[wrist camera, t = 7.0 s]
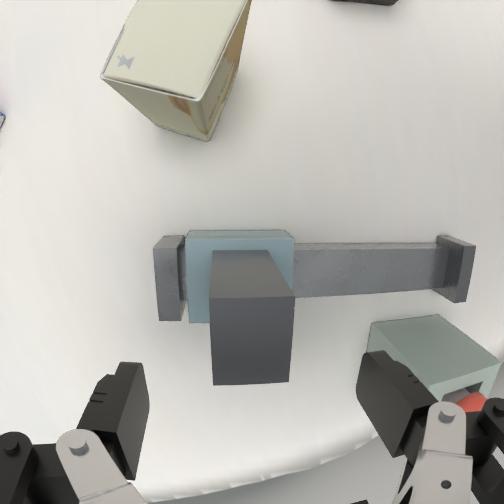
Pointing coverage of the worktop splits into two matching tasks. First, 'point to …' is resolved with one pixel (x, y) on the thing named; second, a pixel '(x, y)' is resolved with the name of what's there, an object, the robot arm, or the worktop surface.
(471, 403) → the red button
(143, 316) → the worktop surface
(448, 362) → the button housing
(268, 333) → the carriage
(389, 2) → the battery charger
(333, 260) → the rail
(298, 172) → the worktop surface
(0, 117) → the ink cartridge box
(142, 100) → the skincare box
